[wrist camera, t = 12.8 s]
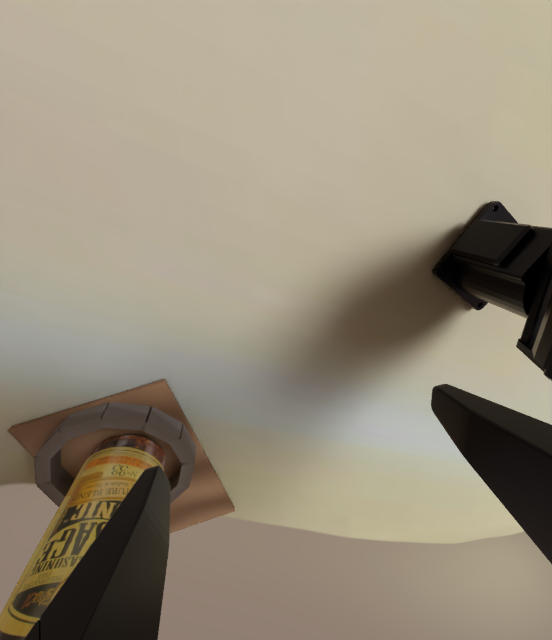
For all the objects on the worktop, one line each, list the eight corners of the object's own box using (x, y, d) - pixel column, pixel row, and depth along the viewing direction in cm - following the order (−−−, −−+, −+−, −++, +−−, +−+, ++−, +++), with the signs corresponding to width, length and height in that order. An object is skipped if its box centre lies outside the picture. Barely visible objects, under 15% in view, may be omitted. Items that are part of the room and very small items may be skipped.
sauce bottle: (177, 436, 24) (61, 1114, 6) (156, 484, 26) (22, 1108, 8) (94, 420, 22) (-427, 1376, 4) (78, 474, 24) (-328, 1287, 6)
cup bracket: (234, 507, 30) (235, 527, 28) (124, 544, 29) (118, 567, 28) (164, 378, 22) (160, 395, 20) (11, 426, 21) (-8, 448, 20)
